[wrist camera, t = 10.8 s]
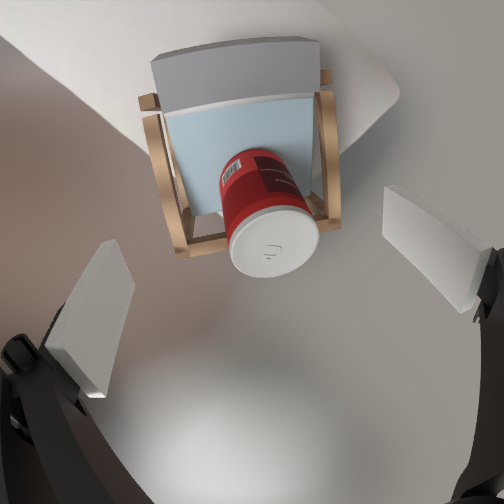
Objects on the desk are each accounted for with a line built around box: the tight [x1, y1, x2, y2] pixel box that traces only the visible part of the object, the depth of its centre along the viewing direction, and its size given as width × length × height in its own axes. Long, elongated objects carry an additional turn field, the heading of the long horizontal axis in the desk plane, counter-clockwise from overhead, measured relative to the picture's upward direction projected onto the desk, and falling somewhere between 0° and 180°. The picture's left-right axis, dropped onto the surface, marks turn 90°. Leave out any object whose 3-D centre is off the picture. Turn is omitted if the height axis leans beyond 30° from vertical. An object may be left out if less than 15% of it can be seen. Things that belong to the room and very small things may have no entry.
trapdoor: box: [151, 36, 320, 217], centre depth 27 cm, size 19×15×6 cm
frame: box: [138, 70, 341, 259], centre depth 33 cm, size 18×19×14 cm
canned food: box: [219, 149, 319, 278], centre depth 27 cm, size 8×8×11 cm
